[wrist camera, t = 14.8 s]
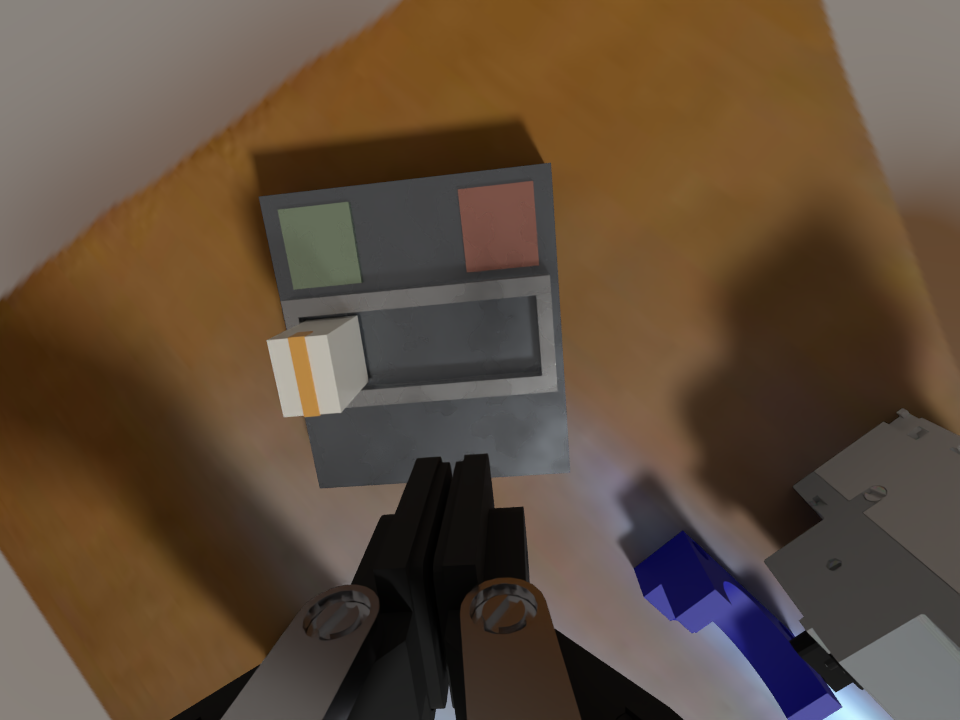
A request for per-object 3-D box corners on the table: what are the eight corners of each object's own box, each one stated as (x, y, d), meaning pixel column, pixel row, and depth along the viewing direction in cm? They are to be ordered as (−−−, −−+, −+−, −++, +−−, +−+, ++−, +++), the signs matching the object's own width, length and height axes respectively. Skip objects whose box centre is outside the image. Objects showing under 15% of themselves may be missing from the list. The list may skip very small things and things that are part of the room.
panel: (565, 450, 34) (571, 480, 30) (335, 466, 35) (314, 496, 32) (547, 168, 29) (552, 160, 26) (282, 198, 31) (249, 196, 27)
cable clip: (633, 567, 36) (656, 632, 31) (681, 529, 35) (715, 589, 30) (741, 664, 38) (782, 744, 32) (791, 631, 37) (842, 707, 31)
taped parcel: (368, 382, 30) (340, 414, 25) (319, 386, 30) (283, 418, 25) (357, 314, 29) (325, 334, 24) (306, 319, 29) (265, 339, 24)
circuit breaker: (717, 539, 35) (858, 762, 21) (902, 407, 32) (1223, 564, 18) (782, 606, 36) (960, 861, 22) (968, 486, 33) (1320, 694, 19)
